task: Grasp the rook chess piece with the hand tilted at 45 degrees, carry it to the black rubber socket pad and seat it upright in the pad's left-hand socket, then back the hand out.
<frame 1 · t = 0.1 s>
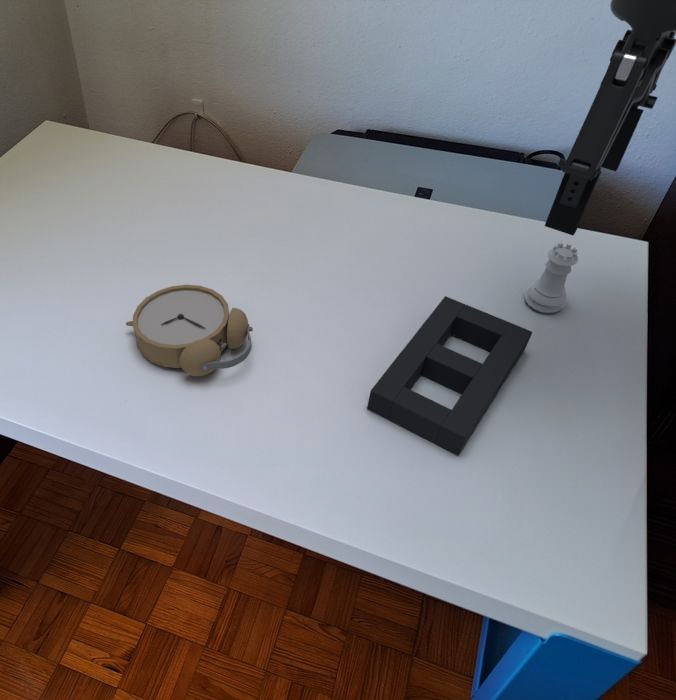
hand: (582, 196, 69), 17 cm above the table, tool pointing down, fingers open, 13 cm apart
socket pad: (448, 378, 75), on the table
rook chess piece: (542, 303, 83), on the table
alarm clock: (194, 344, 80), on the table
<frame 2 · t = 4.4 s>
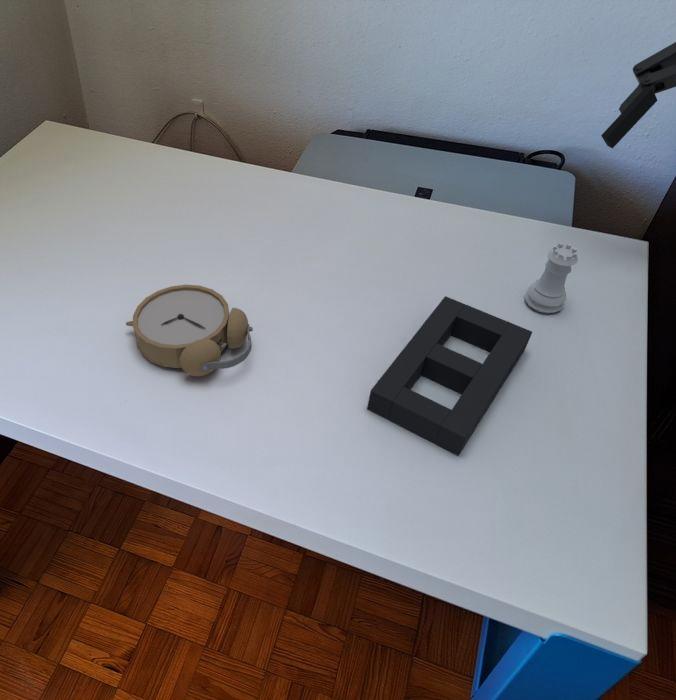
hand: (657, 170, 74), 15 cm above the table, tool tilted 45°, fingers open, 13 cm apart
nothing on the table moved.
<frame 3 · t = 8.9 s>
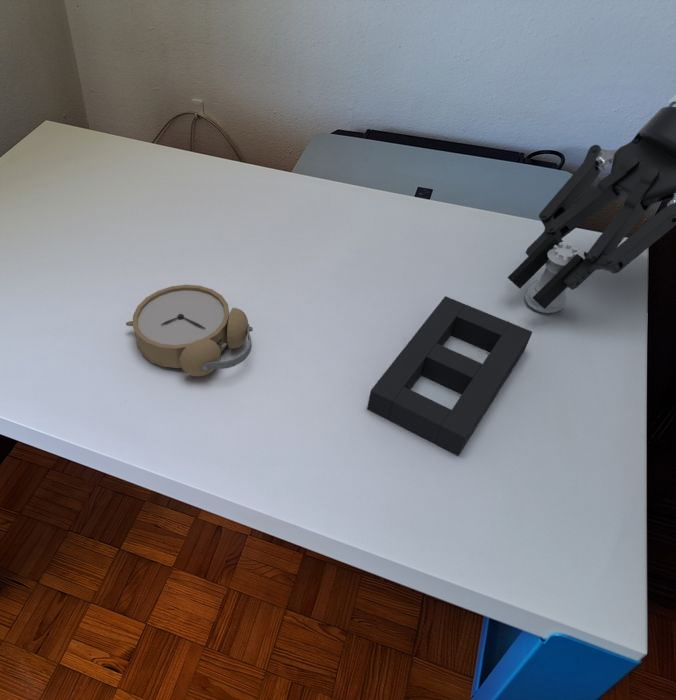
hand: (526, 292, 79), 3 cm above the table, tool tilted 45°, fingers closed on rook chess piece, 3 cm apart
rook chess piece: (542, 304, 83), on the table, touching gripper
everything else where it was.
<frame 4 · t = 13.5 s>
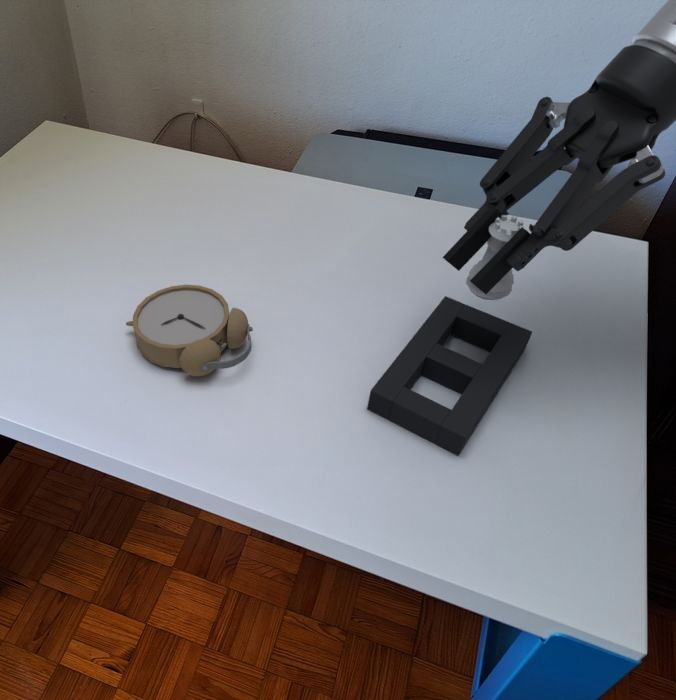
hand: (464, 275, 66), 13 cm above the table, tool tilted 45°, fingers closed on rook chess piece, 3 cm apart
rook chess piece: (487, 289, 70), point 10 cm above the table, touching gripper
everything else where it was.
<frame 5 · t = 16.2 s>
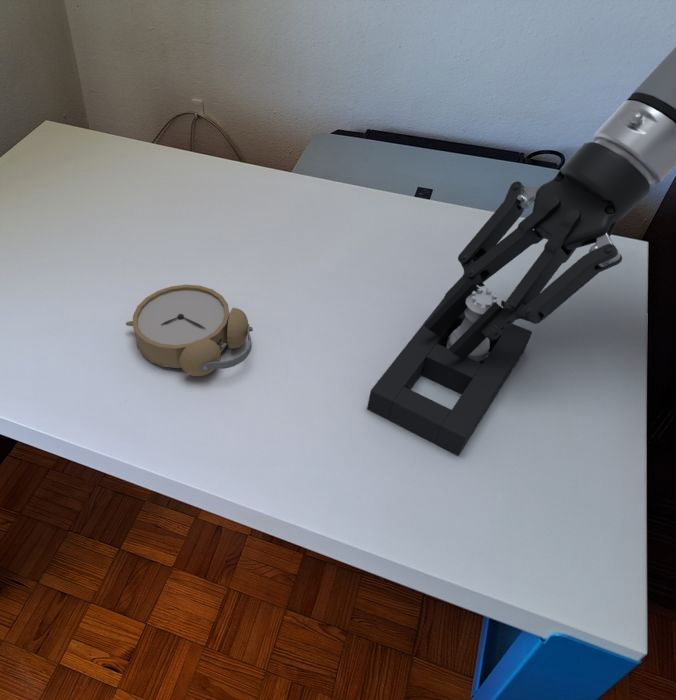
hand: (444, 342, 73), 4 cm above the table, tool tilted 45°, fingers closed on rook chess piece, 3 cm apart
rook chess piece: (465, 352, 76), point 1 cm above the table, touching gripper
everything else where it was.
when the fingers open (5 cm above the table, at t = 18.0 s): rook chess piece drops 2 cm, resting in socket pad.
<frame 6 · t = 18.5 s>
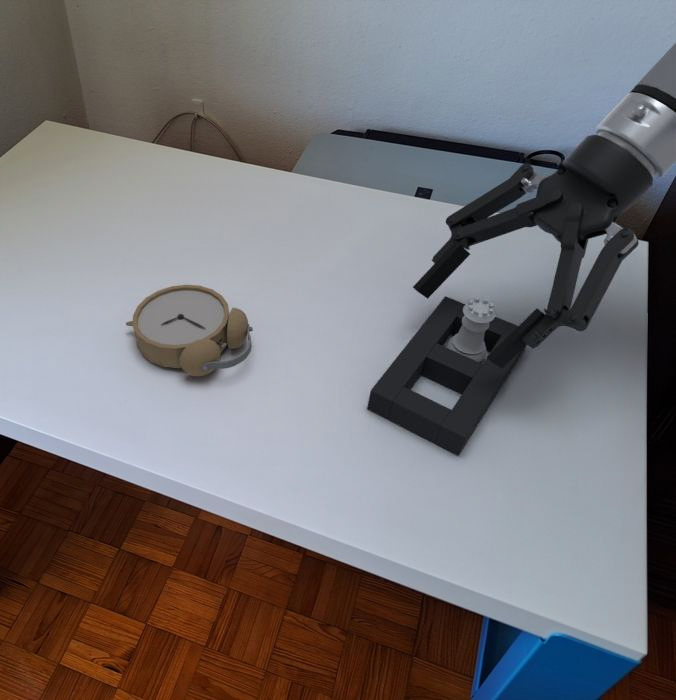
hand: (455, 326, 72), 6 cm above the table, tool tilted 45°, fingers open, 11 cm apart
rook chess piece: (463, 359, 77), resting in socket pad
everything else where it was.
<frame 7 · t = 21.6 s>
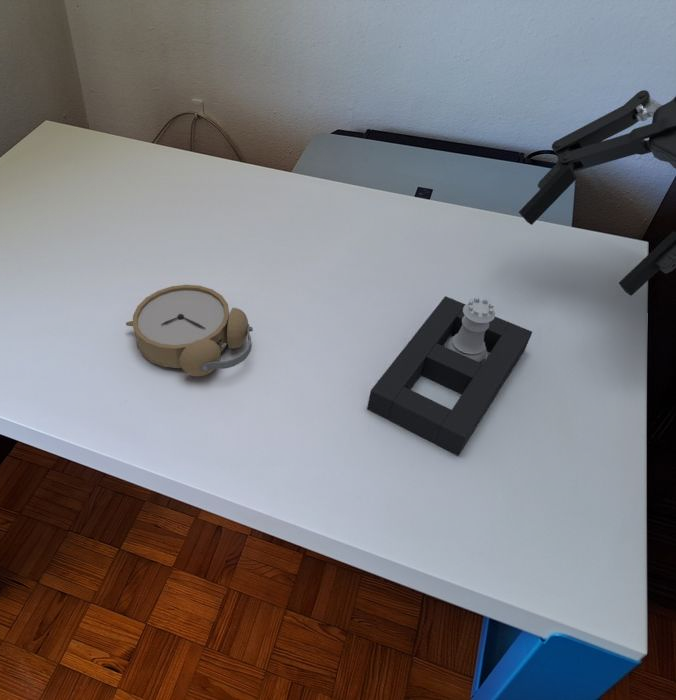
hand: (571, 252, 72), 11 cm above the table, tool tilted 45°, fingers open, 13 cm apart
nothing on the table moved.
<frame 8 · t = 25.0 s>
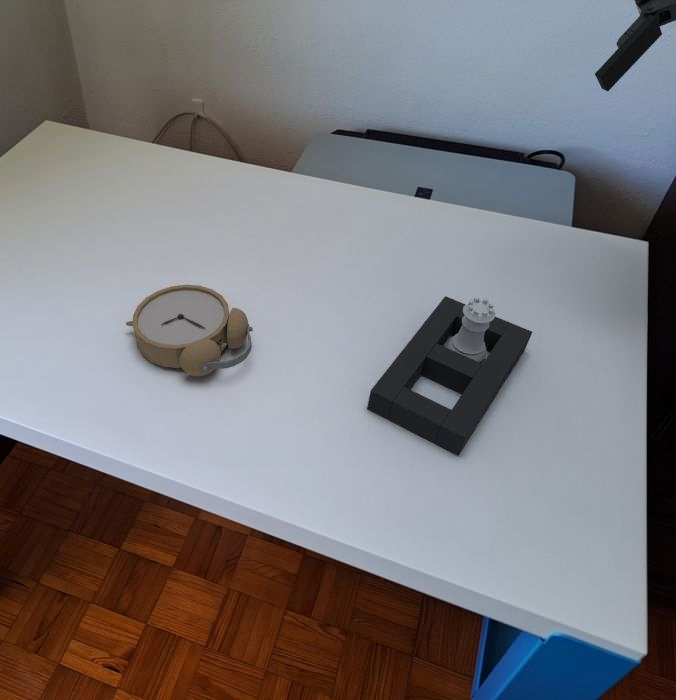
hand: (660, 112, 62), 26 cm above the table, tool tilted 45°, fingers open, 13 cm apart
nothing on the table moved.
at the end: rook chess piece 0.1 cm from the target spot in the socket pad, point 0.0 cm above the socket pad's base; rook chess piece tilted 0° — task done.
